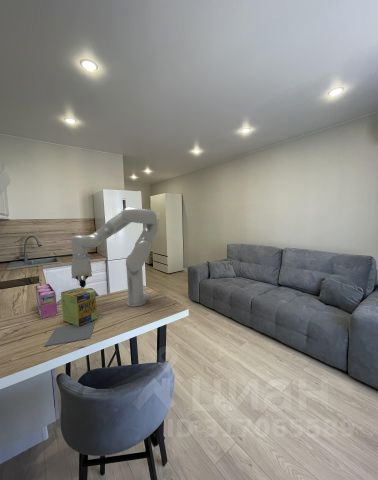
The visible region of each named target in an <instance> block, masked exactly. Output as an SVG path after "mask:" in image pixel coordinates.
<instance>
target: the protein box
mask: <svg viewBox="0 0 378 480" xmlns="http://www.w3.org/2000/svg"><path fill="white" fill-rule="evenodd" d="M96 297H97V296H96V291H95V290H92V289H89V288H85V287H84V288H83V287H82V288H81V286H79V287H76V288H73V289H69V290H65V291H61V292H60V298H61V299H60V301H61V309H62V310H61V311H62V320H63V321H64V322H67V323H69V324H71V325H76V326H81V325H84V324H86V323H89V322H94V321H95V320H97V319H98V311H97V299H96Z"/></svg>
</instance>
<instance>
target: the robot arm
mask: <svg viewBox="0 0 378 480" xmlns="http://www.w3.org/2000/svg"><path fill="white" fill-rule="evenodd" d="M157 217H158V216H157V213H156V212H155V211H154V210H152V209H147V208H140V207H139V208H137V207H131V206H128V207H125V208H124V209H122V211H120V212H119V213H117V214H116V215H115V216H113V217H112V218H110V219H109V220H108V221H107V222H106V223H105V224H104V225H103V226H102V227H100V228H99V229H97V230H96V231H94V232H93V233H91V234H89V235H84V234H83V235H82V234H81V235H80V234H78V235H72V236H71V238H70V239H71V241H70V242H71V249H72V259H71V264H70V265H71V269H70V270H71V279H75V280H78V282H79V287H80V288H84V289H85V287H86V285H87V284H86V283H87V282H86V280H87V279H88V278H90V277H93V273H92V264H91V260H90V257H91V254H90V253H88V248H90V249H91V248H96V247H98V246H99V245H100V244H102V243H103V242H104V241H106V240H107V239H109V238H110V237H112V236H113V235H116V234H117V233H119V232H120V231H121V230H123V229H124V228H125V227H127V226H128V225H130V224H132V223H134V224H144V227H143V230H142V231H141V233H140V234H139V237H138V239H137V240H136V242H135V243H134V247H133V249H132V250H131V252H130V254H129V255H128V256H127V257H126V259H125V266H126V267H125V268H126V281H127V297H128V299H127V300H126V301H125V302H126V303H125V305H126V306H128V307H134V308H135V307H141V306H143V305H145V304H146V303H147V300H151V299H152V295H149V294H146V295H145V293H144V292H145V291H144V279H143V278H144V277H143V266H144V265H145V263H146V261H147V259H148V257H149V256H150V253H151V251H152V243H153V241H154V240H155V237H156V236H157V234H158V230H159V222H158V219H157Z"/></svg>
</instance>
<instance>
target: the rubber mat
mask: <svg viewBox="0 0 378 480" xmlns="http://www.w3.org/2000/svg"><path fill="white" fill-rule="evenodd" d="M95 323H96V321H91V322H88V323H86V324H84V325H81V326H76V325H74V324H71V325H70V324H69V325H65V326H59V327H58V326H57V327H55V328H54V330H53V332H52V333H51V335H50V336H49V337H48V339H47V341H46V343H45V344H44V346H43V347H44V348H46V347H52V346H57V345H61V344H69V343H73V342H80V341H83V340H84V341H85V340H89V339H91V337H92V334H93V332H94V326H95Z"/></svg>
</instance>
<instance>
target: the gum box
mask: <svg viewBox="0 0 378 480" xmlns="http://www.w3.org/2000/svg"><path fill="white" fill-rule="evenodd" d="M34 288H35V295H36V296H35V298H36V305H37V310H38V313H39V315H40V318H44V319H46V318H45V317H48V318H50V317H49V316H51V317H54V316H53V315H55V316H57V315H56V314H58V306H57V293H56V291H55V289H54V288H53V287H52V286H51V284H50V283H46V284H45V285H40V286H38V285H35V287H34Z"/></svg>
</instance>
